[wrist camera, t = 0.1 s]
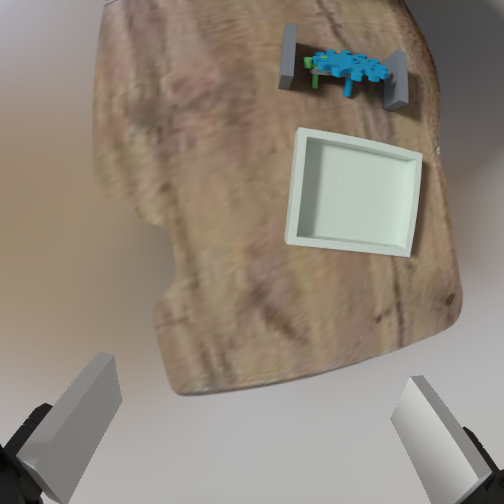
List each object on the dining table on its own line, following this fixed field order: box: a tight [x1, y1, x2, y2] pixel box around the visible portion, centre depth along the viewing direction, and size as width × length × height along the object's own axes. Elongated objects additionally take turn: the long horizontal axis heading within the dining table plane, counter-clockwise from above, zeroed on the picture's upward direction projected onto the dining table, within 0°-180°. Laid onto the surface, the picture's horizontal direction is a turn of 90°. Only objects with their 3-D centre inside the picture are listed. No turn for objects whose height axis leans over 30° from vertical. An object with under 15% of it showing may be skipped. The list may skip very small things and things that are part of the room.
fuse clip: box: [278, 24, 409, 111], centre depth 30 cm, size 8×16×5 cm, turn 85°
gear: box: [304, 50, 389, 97], centre depth 30 cm, size 11×6×10 cm
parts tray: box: [284, 127, 422, 257], centre depth 34 cm, size 14×17×4 cm
